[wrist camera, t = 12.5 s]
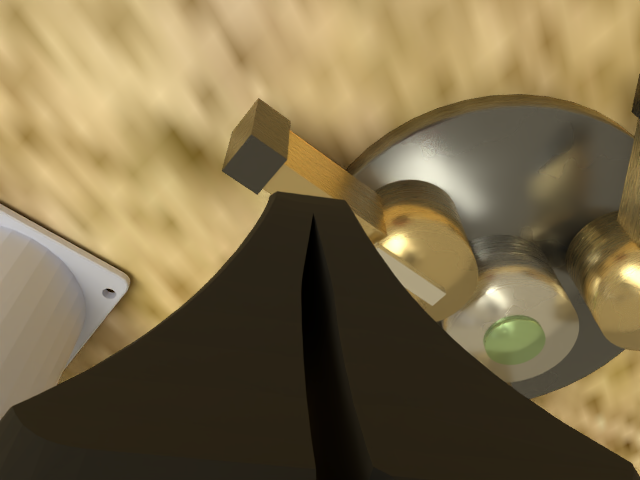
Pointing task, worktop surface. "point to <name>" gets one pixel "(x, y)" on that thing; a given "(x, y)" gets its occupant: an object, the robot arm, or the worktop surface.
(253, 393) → the robot arm
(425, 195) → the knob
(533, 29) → the worktop surface
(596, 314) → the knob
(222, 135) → the worktop surface
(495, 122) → the level plate
